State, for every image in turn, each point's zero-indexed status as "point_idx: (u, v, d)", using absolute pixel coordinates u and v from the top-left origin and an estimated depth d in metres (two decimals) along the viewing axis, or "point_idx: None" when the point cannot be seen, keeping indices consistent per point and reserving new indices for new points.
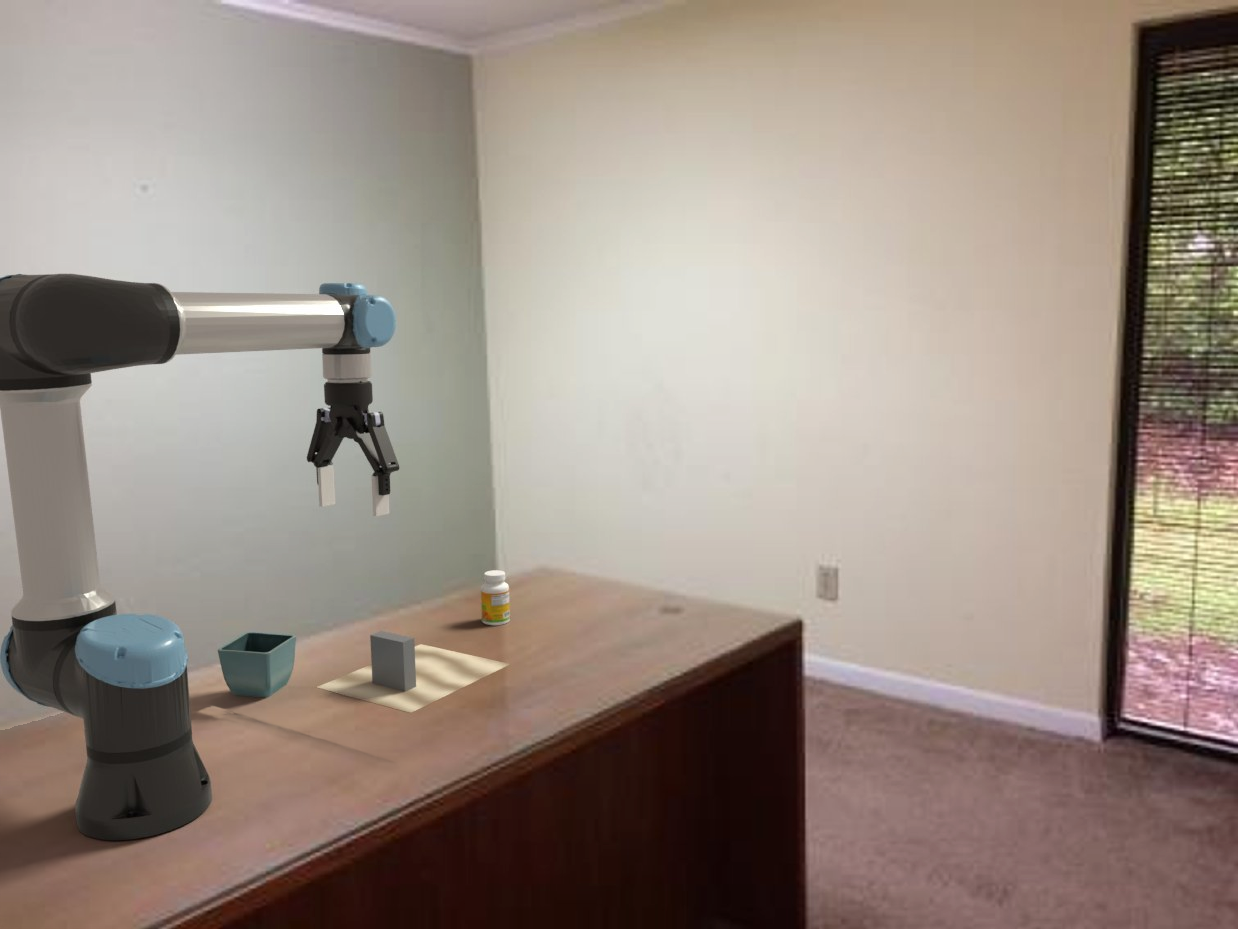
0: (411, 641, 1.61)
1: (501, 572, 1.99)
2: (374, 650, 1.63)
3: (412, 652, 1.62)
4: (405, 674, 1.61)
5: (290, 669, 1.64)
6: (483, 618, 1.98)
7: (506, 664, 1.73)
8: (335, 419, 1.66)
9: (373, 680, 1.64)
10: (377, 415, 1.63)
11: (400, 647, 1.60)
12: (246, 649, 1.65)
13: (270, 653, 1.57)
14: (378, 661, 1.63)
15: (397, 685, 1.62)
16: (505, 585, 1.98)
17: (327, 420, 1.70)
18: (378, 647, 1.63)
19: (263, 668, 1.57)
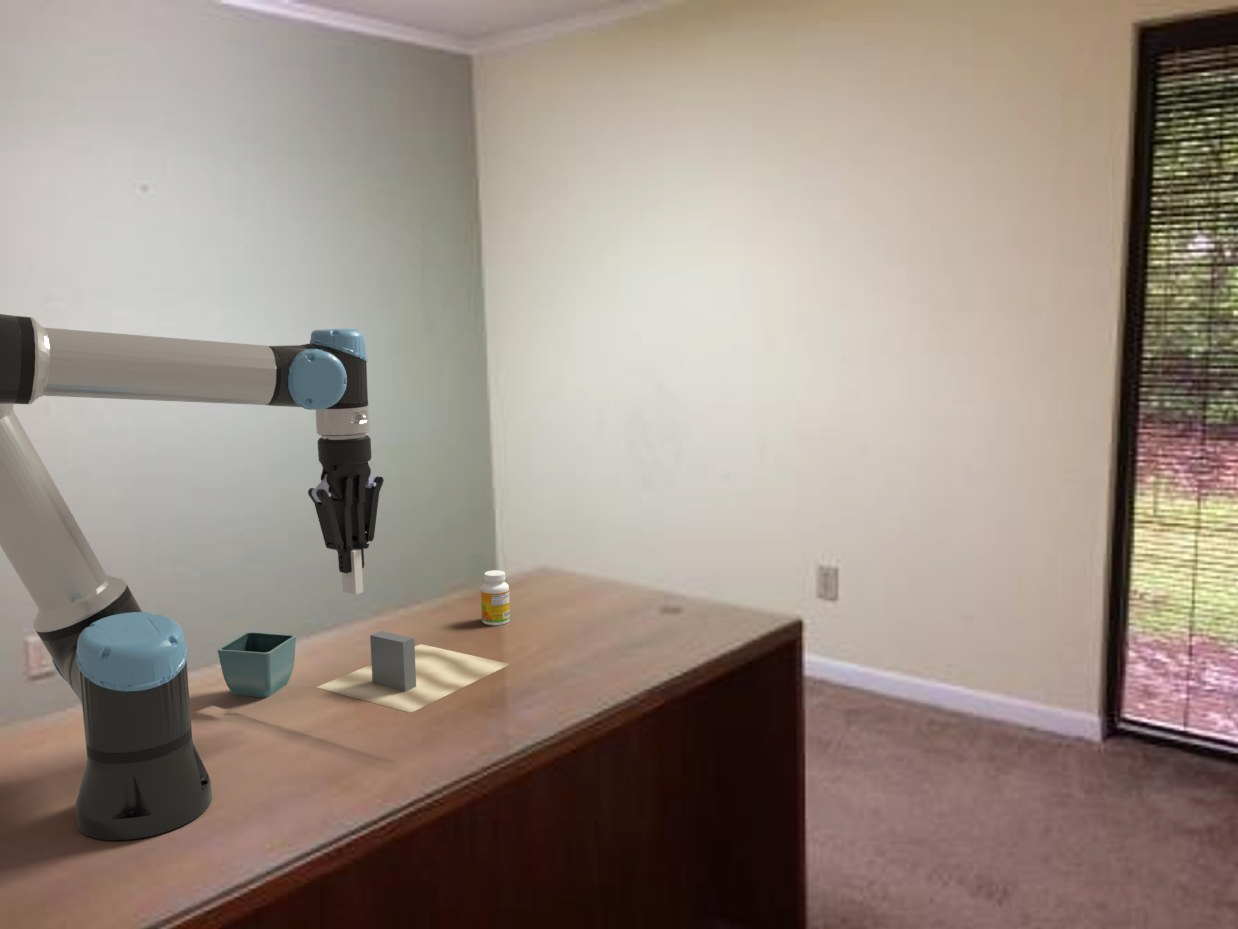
0: (411, 641, 1.61)
1: (501, 572, 1.99)
2: (374, 650, 1.63)
3: (412, 652, 1.62)
4: (405, 674, 1.61)
5: (290, 669, 1.64)
6: (483, 618, 1.98)
7: (506, 664, 1.73)
8: None
9: (373, 680, 1.64)
10: (315, 495, 1.47)
11: (400, 647, 1.60)
12: (246, 649, 1.65)
13: (270, 653, 1.57)
14: (378, 661, 1.63)
15: (397, 685, 1.62)
16: (505, 585, 1.98)
17: (365, 484, 1.56)
18: (378, 647, 1.63)
19: (263, 668, 1.57)
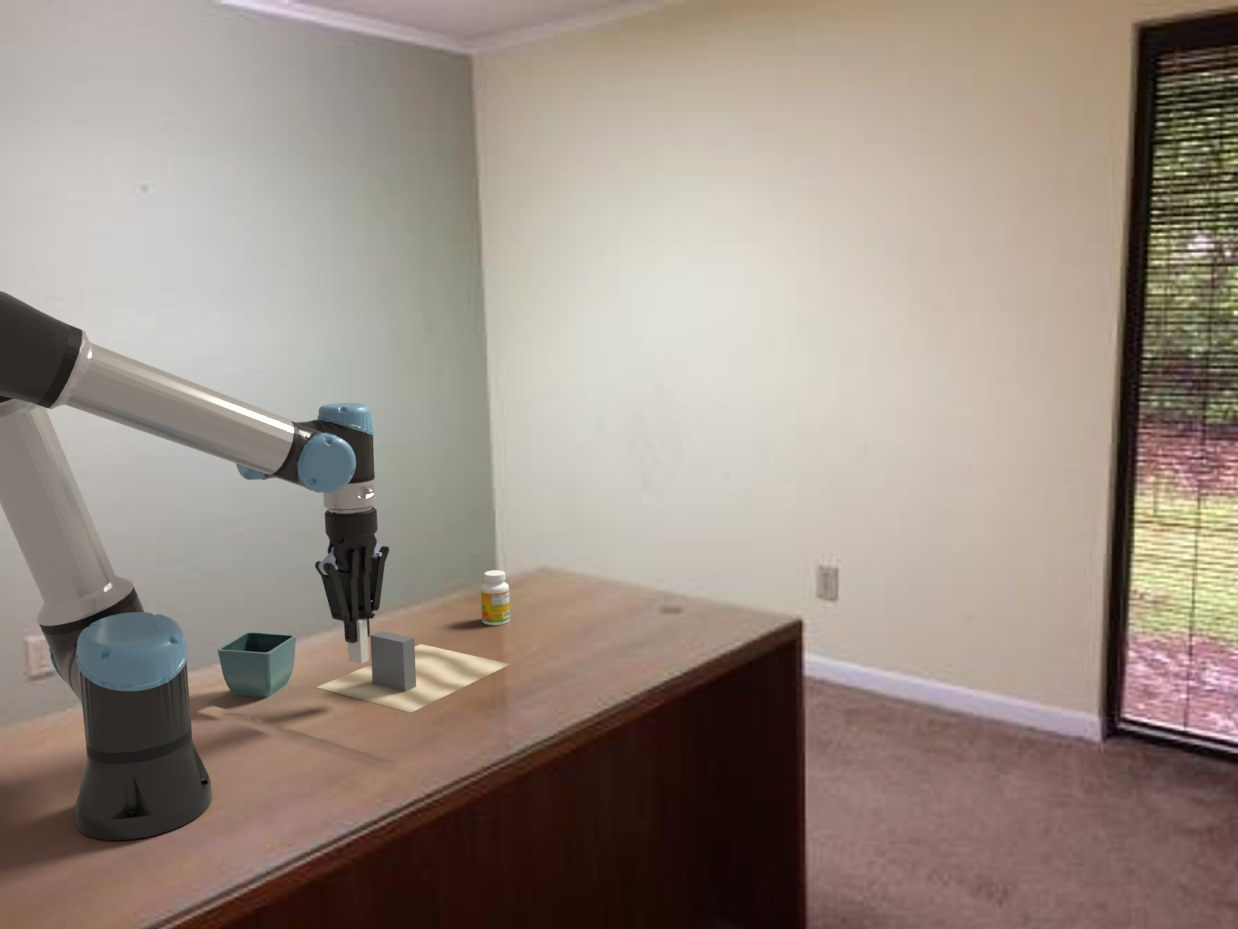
0: (411, 641, 1.61)
1: (501, 572, 1.99)
2: (374, 650, 1.63)
3: (412, 652, 1.62)
4: (405, 674, 1.61)
5: (290, 669, 1.64)
6: (483, 618, 1.98)
7: (506, 664, 1.73)
8: None
9: (373, 680, 1.64)
10: (321, 569, 1.49)
11: (400, 647, 1.60)
12: (246, 649, 1.65)
13: (270, 653, 1.57)
14: (378, 661, 1.63)
15: (397, 685, 1.62)
16: (505, 585, 1.98)
17: None
18: (378, 647, 1.63)
19: (263, 668, 1.57)
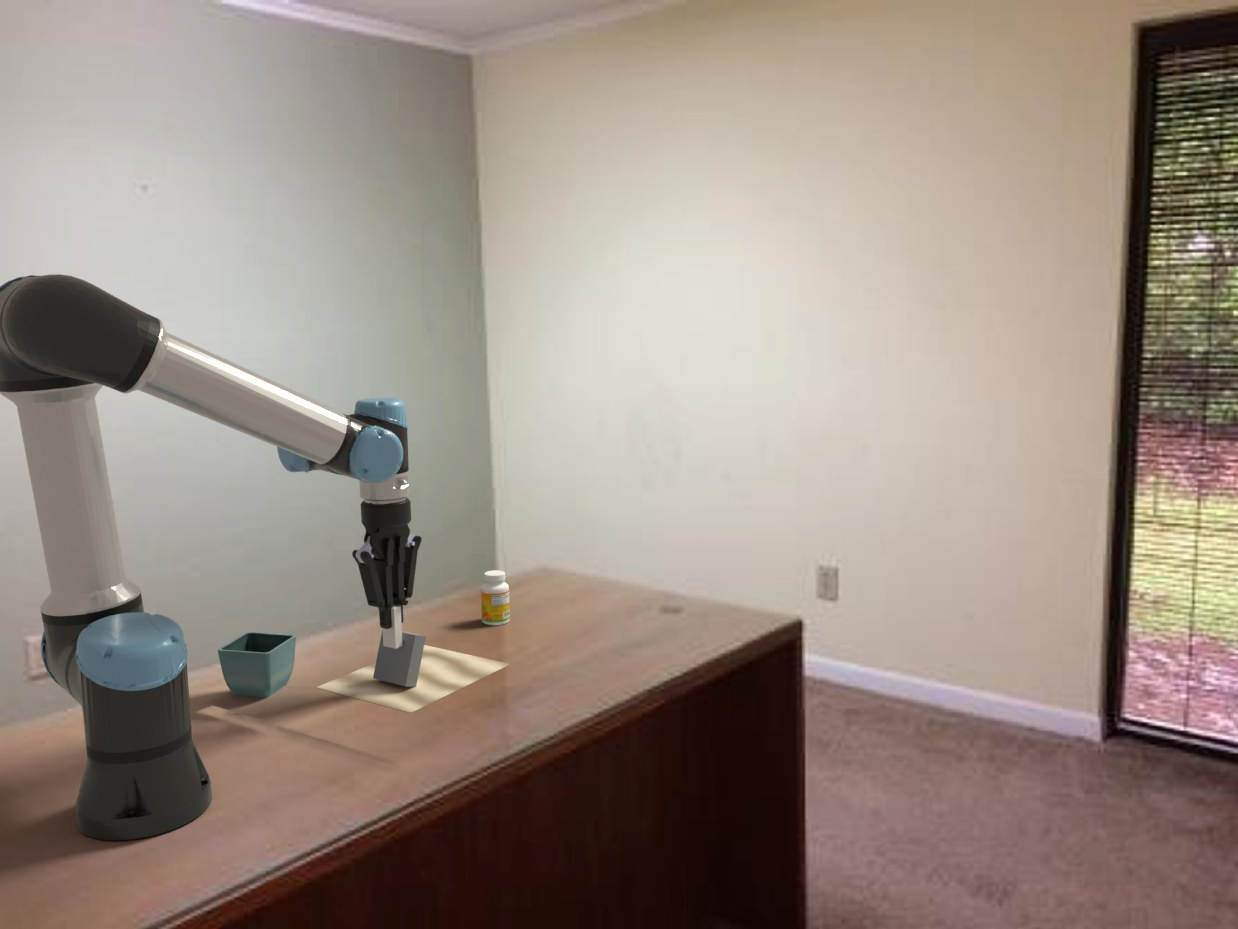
0: (422, 638, 1.64)
1: (501, 572, 1.99)
2: None
3: (421, 649, 1.63)
4: (410, 669, 1.62)
5: (290, 669, 1.64)
6: (483, 618, 1.98)
7: (506, 664, 1.73)
8: None
9: (374, 675, 1.65)
10: (358, 557, 1.55)
11: (411, 640, 1.62)
12: (246, 649, 1.65)
13: (270, 653, 1.57)
14: (385, 655, 1.64)
15: (399, 679, 1.62)
16: (505, 585, 1.98)
17: None
18: None
19: (263, 668, 1.57)
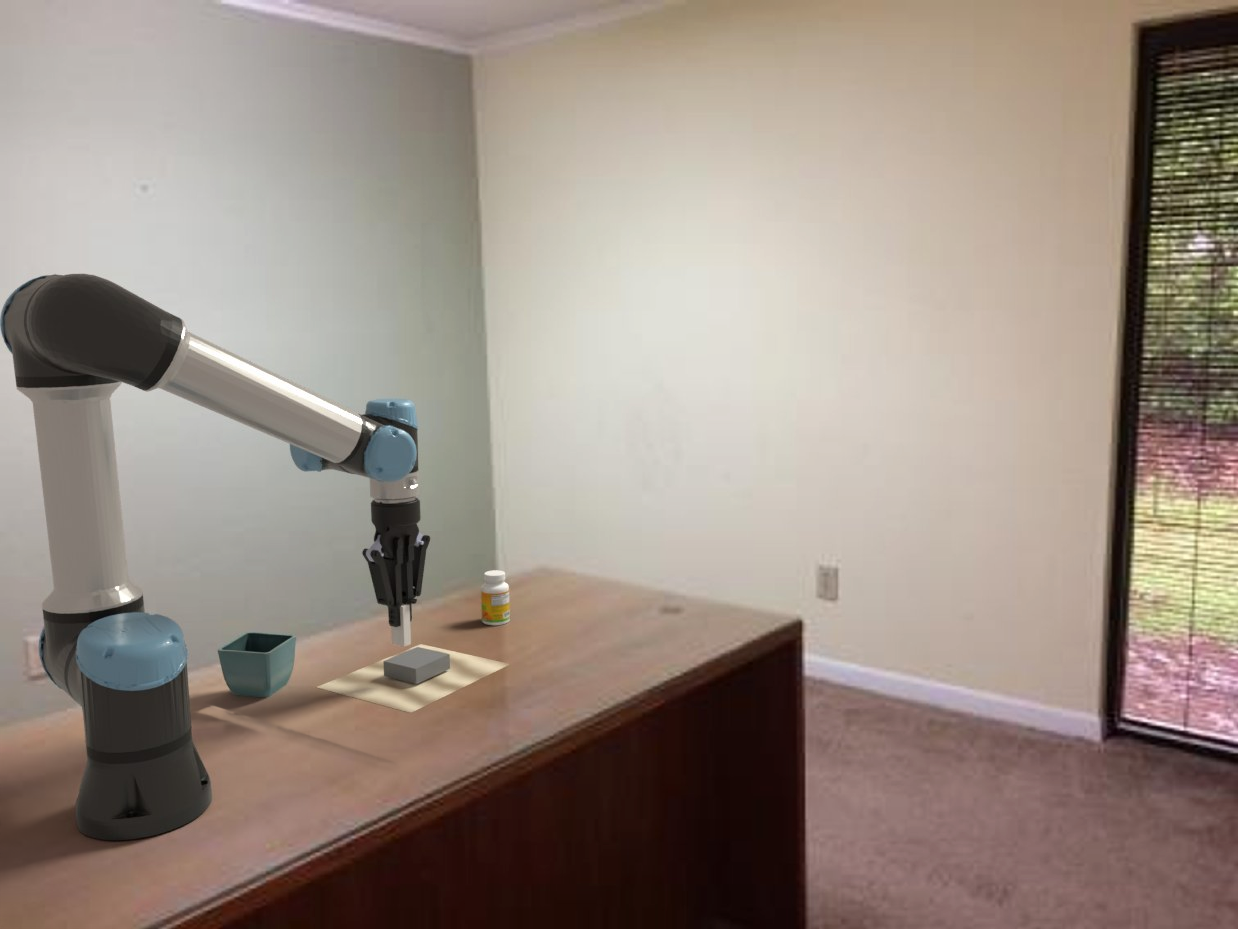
0: (448, 665, 1.69)
1: (501, 572, 1.99)
2: (411, 652, 1.71)
3: (441, 669, 1.68)
4: (427, 665, 1.65)
5: (290, 669, 1.64)
6: (483, 618, 1.98)
7: (506, 664, 1.73)
8: None
9: (386, 660, 1.67)
10: (369, 556, 1.57)
11: (443, 655, 1.69)
12: (246, 649, 1.65)
13: (270, 653, 1.57)
14: (407, 655, 1.69)
15: (411, 665, 1.64)
16: (505, 585, 1.98)
17: None
18: (418, 651, 1.71)
19: (263, 668, 1.57)
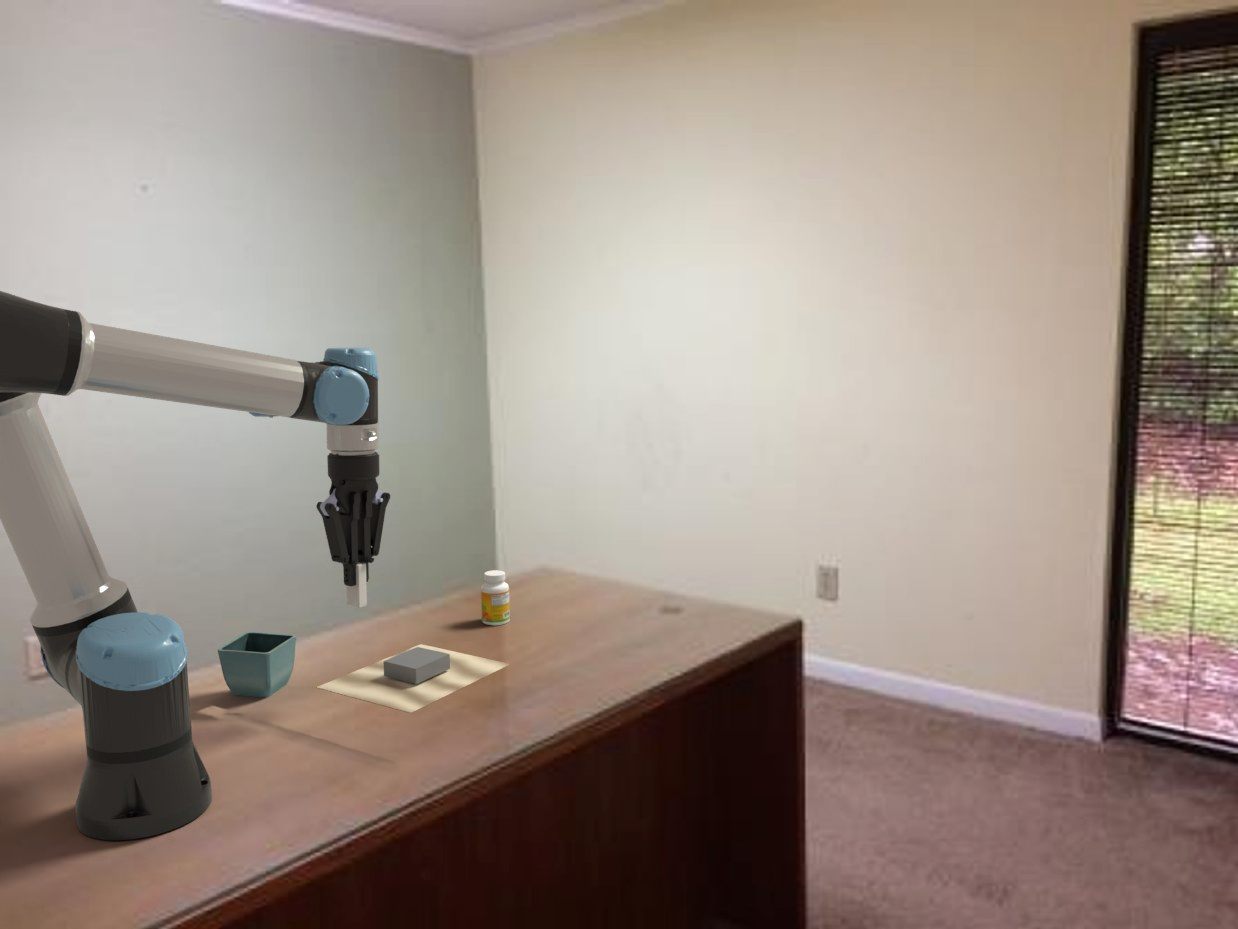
0: (448, 665, 1.69)
1: (501, 572, 1.99)
2: (411, 652, 1.71)
3: (441, 669, 1.68)
4: (427, 665, 1.65)
5: (290, 669, 1.64)
6: (483, 618, 1.98)
7: (506, 664, 1.73)
8: None
9: (386, 660, 1.67)
10: (323, 509, 1.50)
11: (443, 655, 1.69)
12: (246, 649, 1.65)
13: (270, 653, 1.57)
14: (407, 655, 1.69)
15: (411, 665, 1.64)
16: (505, 585, 1.98)
17: (372, 499, 1.59)
18: (418, 651, 1.71)
19: (263, 668, 1.57)
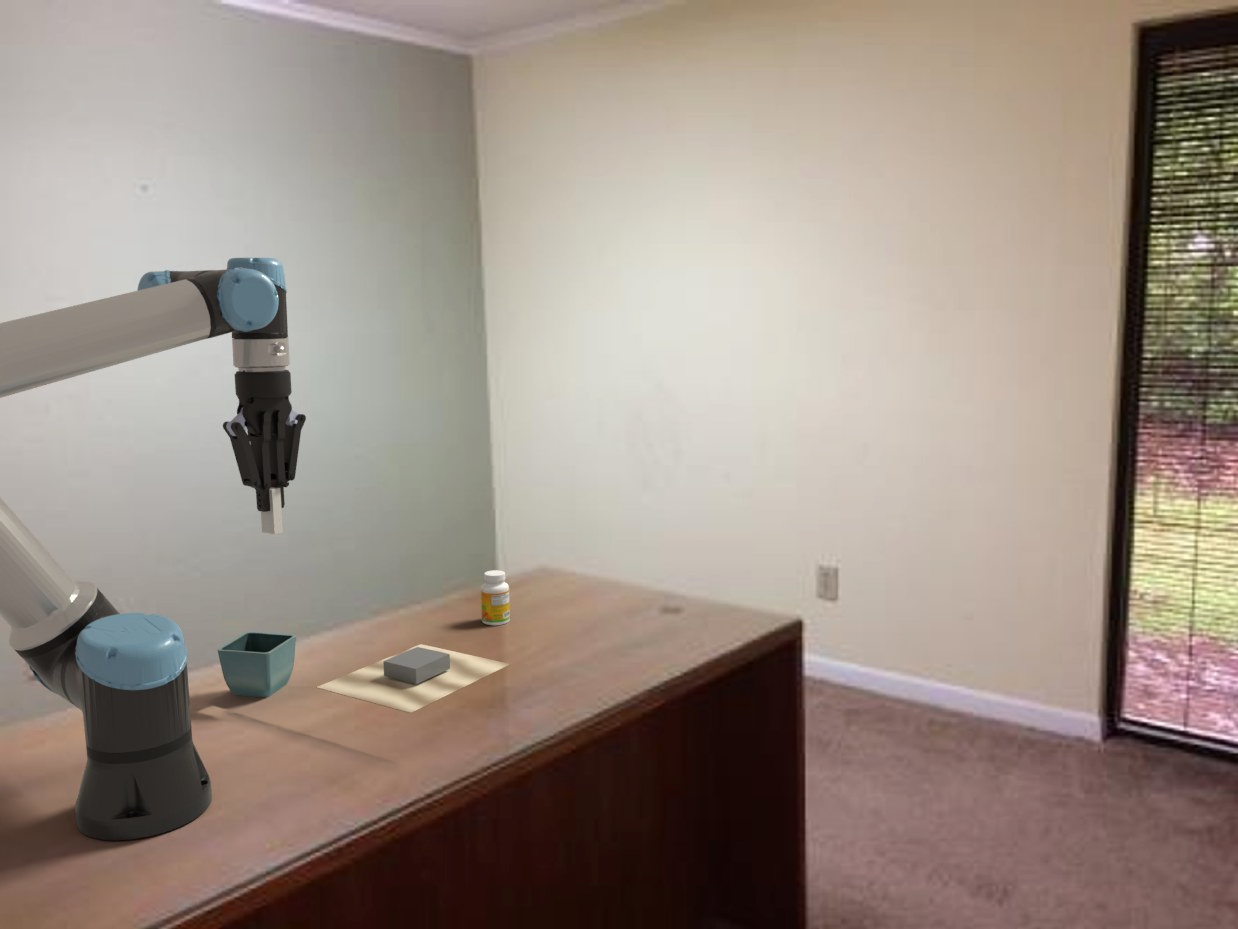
0: (448, 665, 1.69)
1: (501, 572, 1.99)
2: (411, 652, 1.71)
3: (441, 669, 1.68)
4: (427, 665, 1.65)
5: (290, 669, 1.64)
6: (483, 618, 1.98)
7: (506, 664, 1.73)
8: None
9: (386, 660, 1.67)
10: (229, 429, 1.42)
11: (443, 655, 1.69)
12: (246, 649, 1.65)
13: (270, 653, 1.57)
14: (407, 655, 1.69)
15: (411, 665, 1.64)
16: (505, 585, 1.98)
17: (286, 421, 1.51)
18: (418, 651, 1.71)
19: (263, 668, 1.57)
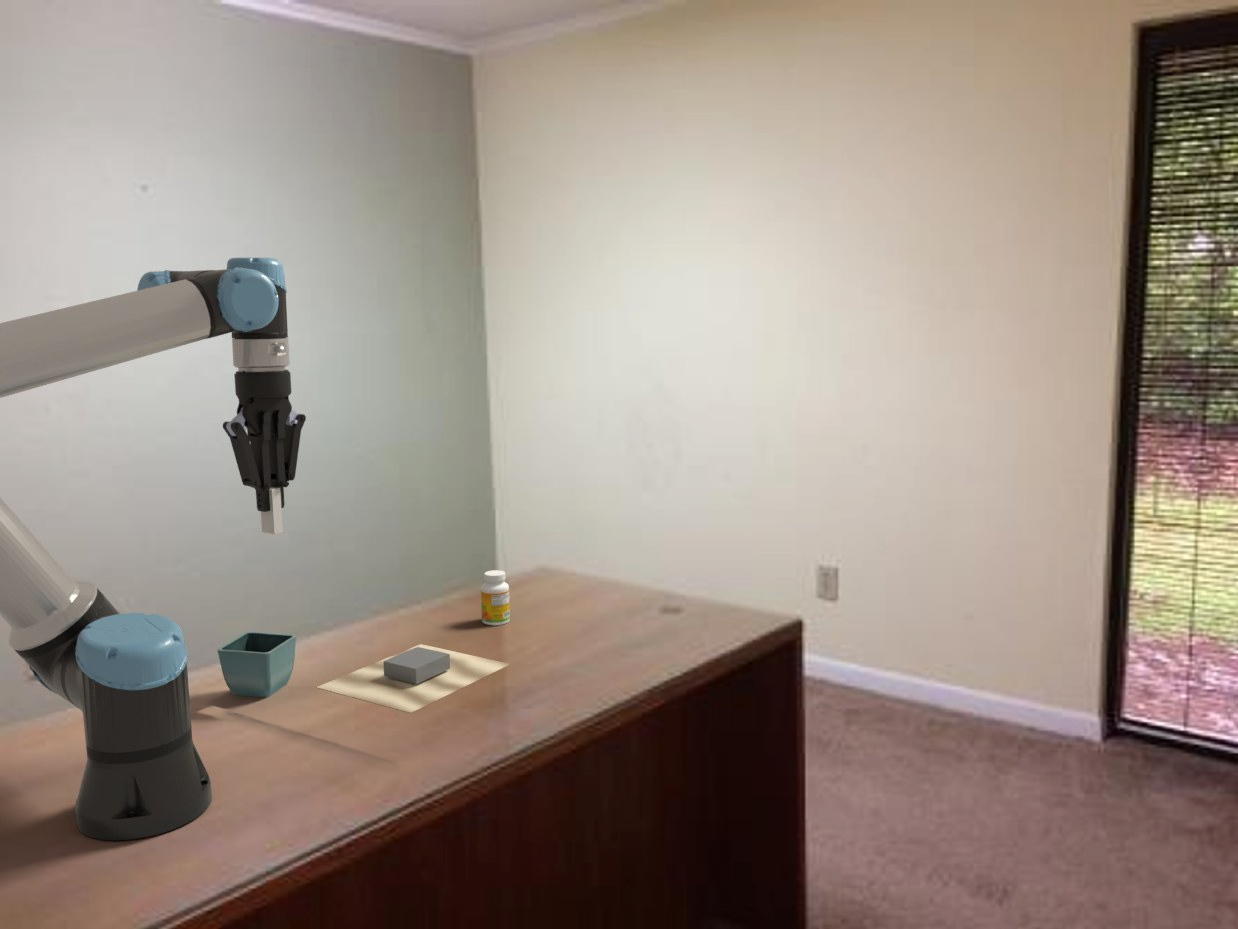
0: (448, 665, 1.69)
1: (501, 572, 1.99)
2: (411, 652, 1.71)
3: (441, 669, 1.68)
4: (427, 665, 1.65)
5: (290, 669, 1.64)
6: (483, 618, 1.98)
7: (506, 664, 1.73)
8: None
9: (386, 660, 1.67)
10: (229, 429, 1.42)
11: (443, 655, 1.69)
12: (246, 649, 1.65)
13: (270, 653, 1.57)
14: (407, 655, 1.69)
15: (411, 665, 1.64)
16: (505, 585, 1.98)
17: (286, 421, 1.51)
18: (418, 651, 1.71)
19: (263, 668, 1.57)
